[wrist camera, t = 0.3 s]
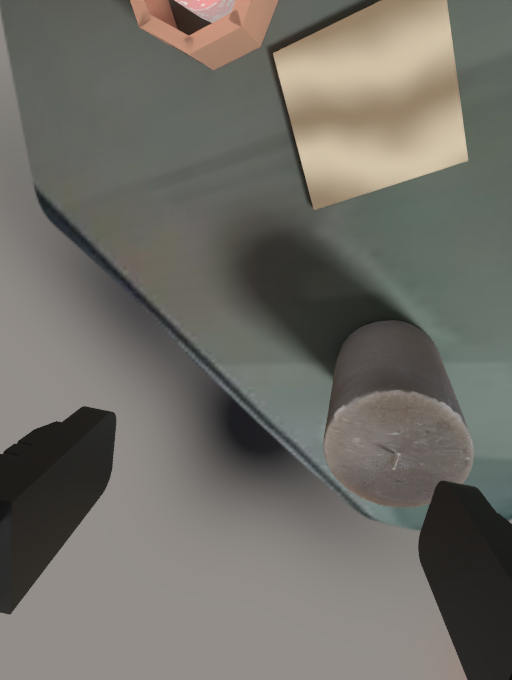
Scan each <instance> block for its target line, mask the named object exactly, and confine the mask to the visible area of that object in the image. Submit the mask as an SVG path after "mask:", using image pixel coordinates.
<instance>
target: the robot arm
mask: <svg viewBox="0 0 512 680" xmlns="http://www.w3.org/2000/svg"><path fill="white" fill-rule="evenodd" d="M115 430H116V415H115V413H114V412H110V411H104V410H100V409H95V408H90V407H81V408H80V409H79V410H77V411H76V412H75V413H73V414H72V415H71V416H70V417H68V418H67V419H66V420H64V421H63V422H57V421H56V422H53V423H51V424H49V425H45V426H43V427H40V428H37V429H35V430H33V431H32V432H30V433H29V434H27V435H26V436H25V437H23V438H22V439H20V440H19V441H18V443H17V444H14V445H12V446H11V447H9V448H8V449H6V450H5V451H4V453H3V454H0V612H1V613H6V614H11V613H12V611H13V610H14V609H15V608H16V606H17V605H18V603H19V602H20V601H21V600H22V598H23V597H24V596H25V594H26V593H27V592H28V591H29V589H30V588H31V587H32V585H33V584H34V583H35V581H36V580H37V579H38V577H39V576H40V575H41V573H42V572H43V571H44V570H45V568H46V567H47V566H48V564H49V563H50V561H51V560H52V559H53V558H54V557H55V555H56V554H57V552H58V551H59V550H60V549H61V547H62V546H63V545H64V543H65V542H66V541H67V539H68V538H69V537H70V536H71V534H72V533H73V532H74V530H75V529H76V528H77V526H78V525H79V524H80V523H81V521H82V520H83V519H84V517H85V516H86V515H87V513H88V512H89V511H90V509H91V508H92V507H93V506H94V504H95V503H96V502H97V500H98V499H99V498H100V496H101V495H102V494H103V492H104V490H105V489H106V486H107V484H108V481H109V479H110V475H111V471H112V464H113V463H112V462H113V452H114V441H115ZM418 547H419V558H420V562H421V565H422V567H423V570H424V572H425V575H426V577H427V580H428V582H429V585H430V587H431V590H432V592H433V595H434V597H435V600H436V602H437V605H438V607H439V610H440V612H441V615H442V617H443V620H444V622H445V625H446V627H447V630H448V632H449V635H450V637H451V639H452V642H453V645H454V647H455V649H456V652H457V655H458V657H459V659H460V662H461V664H462V667H463V669H464V672H465V674H466V677H467V679H468V680H512V524H511V523H510V522H509V521H507V520H506V519H505V518H504V517H502V516H501V515H500V514H498V513H496V511H495V510H494V509H493V507H492V506H491V505H490V503H489V502H488V501H487V499H486V498H485V497H484V496H483V494H482V493H481V492H480V490H479V489H478V488H476V487H474V486H469V485H464V484H459V483H454V482H449V481H444V480H442V481H440V482H439V483H438V484H437V486H436V488H435V490H434V493H433V496H432V499H431V502H430V505H429V508H428V511H427V514H426V517H425V520H424V523H423V526H422V529H421V532H420V536H419V545H418Z"/></svg>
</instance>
